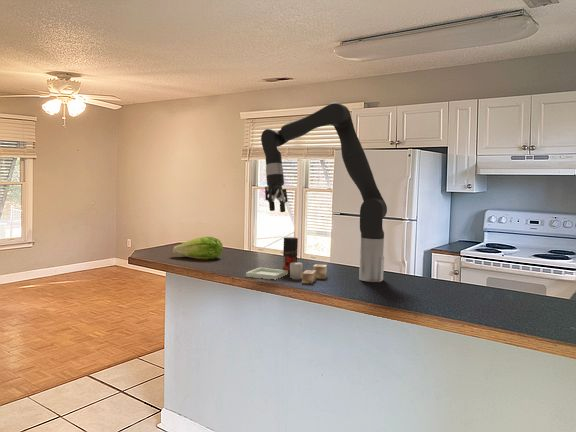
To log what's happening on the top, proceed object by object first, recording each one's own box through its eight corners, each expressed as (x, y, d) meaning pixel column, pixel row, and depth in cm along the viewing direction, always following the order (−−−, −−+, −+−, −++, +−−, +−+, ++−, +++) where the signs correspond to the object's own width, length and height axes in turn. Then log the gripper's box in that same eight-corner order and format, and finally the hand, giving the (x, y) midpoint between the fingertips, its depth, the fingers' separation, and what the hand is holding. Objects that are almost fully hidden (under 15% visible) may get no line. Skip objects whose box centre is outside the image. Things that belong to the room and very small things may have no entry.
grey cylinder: (303, 277, 197) (303, 262, 196) (300, 279, 192) (300, 265, 192) (291, 276, 198) (292, 261, 198) (288, 279, 194) (288, 264, 193)
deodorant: (279, 272, 206) (280, 237, 205) (289, 271, 210) (290, 237, 209) (289, 275, 201) (290, 239, 200) (299, 273, 206) (300, 238, 205)
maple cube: (326, 276, 201) (326, 265, 200) (325, 279, 196) (325, 266, 196) (314, 276, 202) (314, 264, 201) (312, 278, 197) (313, 266, 196)
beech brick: (315, 280, 193) (316, 270, 193) (312, 284, 186) (312, 274, 185) (306, 279, 194) (306, 269, 194) (302, 283, 186) (302, 273, 186)
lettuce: (177, 244, 247) (171, 232, 236) (225, 243, 246) (221, 230, 235) (174, 265, 240) (168, 254, 230) (223, 264, 239) (219, 252, 229)
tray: (287, 274, 202) (287, 270, 202) (275, 280, 190) (275, 275, 190) (259, 271, 207) (259, 267, 207) (246, 276, 195) (246, 272, 195)
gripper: (273, 171, 204) (276, 209, 202) (290, 175, 216) (293, 211, 214) (258, 174, 207) (261, 211, 206) (276, 178, 220) (279, 213, 218)
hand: (277, 211), depth 210 cm, fingers open, 8 cm apart
